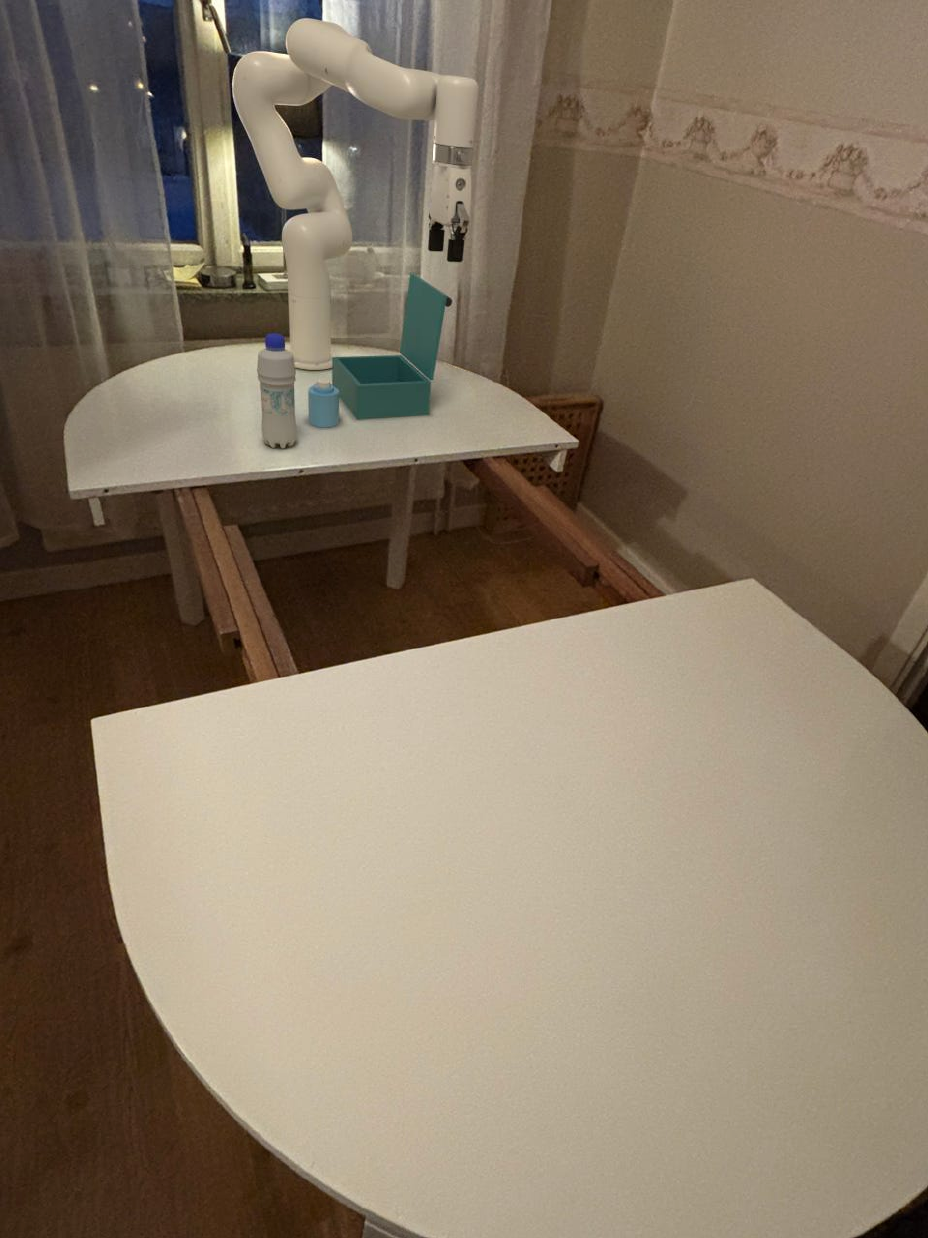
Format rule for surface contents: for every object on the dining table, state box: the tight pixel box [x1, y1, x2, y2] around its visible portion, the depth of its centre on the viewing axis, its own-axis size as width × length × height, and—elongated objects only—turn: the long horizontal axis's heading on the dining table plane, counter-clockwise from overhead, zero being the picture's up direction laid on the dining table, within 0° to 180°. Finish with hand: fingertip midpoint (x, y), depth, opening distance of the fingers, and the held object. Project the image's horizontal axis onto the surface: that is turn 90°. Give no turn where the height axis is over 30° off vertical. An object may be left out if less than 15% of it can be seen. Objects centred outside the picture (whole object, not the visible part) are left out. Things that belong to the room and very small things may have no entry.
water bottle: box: [307, 378, 340, 428], centre depth 147 cm, size 6×6×8 cm
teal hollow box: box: [331, 354, 432, 420], centre depth 159 cm, size 16×18×7 cm
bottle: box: [256, 332, 297, 449], centre depth 133 cm, size 7×7×20 cm
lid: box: [399, 272, 453, 381], centre depth 156 cm, size 17×18×5 cm
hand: (444, 256), depth 149 cm, fingers open, 9 cm apart
